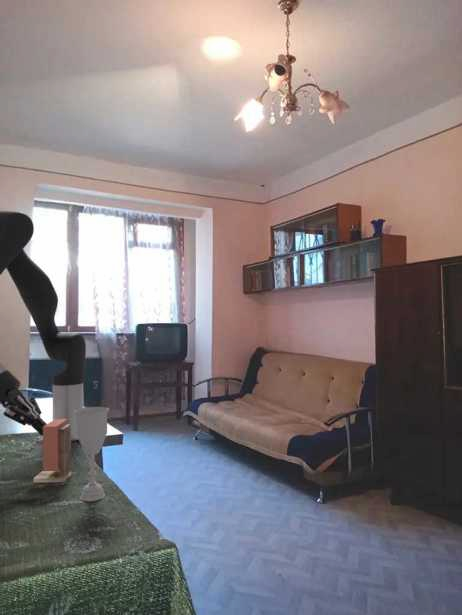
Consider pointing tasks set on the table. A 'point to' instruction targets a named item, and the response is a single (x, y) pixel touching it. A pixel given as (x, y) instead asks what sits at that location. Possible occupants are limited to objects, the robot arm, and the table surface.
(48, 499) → the table surface
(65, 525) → the table surface
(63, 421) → the pink block with hole
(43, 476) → the pipe stand
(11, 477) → the table surface
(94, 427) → the chalice
